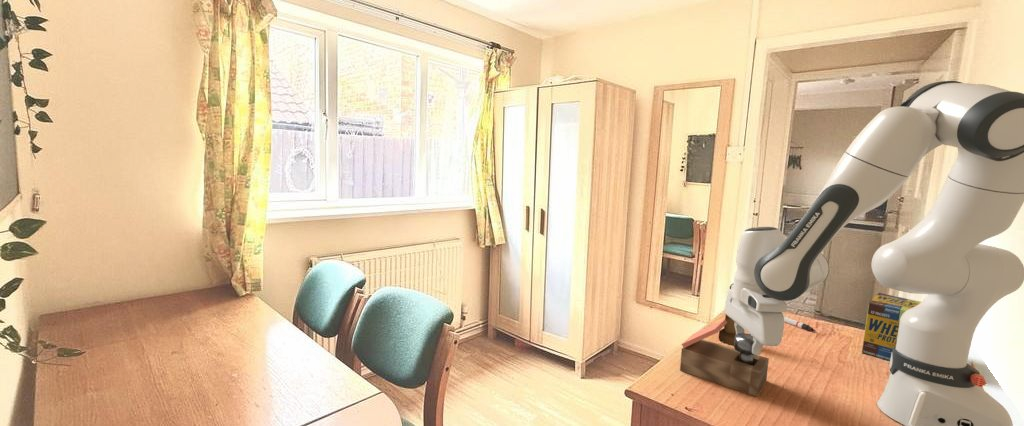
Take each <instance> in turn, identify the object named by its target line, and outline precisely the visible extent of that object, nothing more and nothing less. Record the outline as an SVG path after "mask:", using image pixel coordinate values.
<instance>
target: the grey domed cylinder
mask: <svg viewBox="0 0 1024 426" xmlns="http://www.w3.org/2000/svg"><path fill="white" fill-rule="evenodd" d="M753 343H754V341H753V336H752V335H750V334H749V333H748V332H746V333H738V334H736V335H735V341H734V345H733V348H734V349H735V350H737V351H738V352H740V354H739V362H742V363H746V364H749V365H752V366H753V355H754V354H753V353H751V352H750V345H753Z"/></svg>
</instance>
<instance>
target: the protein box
mask: <svg viewBox="0 0 1024 426" xmlns="http://www.w3.org/2000/svg"><path fill="white" fill-rule="evenodd" d="M921 302H922V301H919V300H915V299H910V298H905V297H900V296H897V295H896V296H895V295H890V294H886V293H881V292H878V293H877V294H876V295H875V296H874V297H873V298H872V299H871V301H869V302H868V307H867V313H866V319H865V321H866V322H865V325H864V332H863V333H864V334H863V339H862V340H863V342H862V350H861V353H862V354H863V355H867V356H871V357H873V358H874V357H875V358H878V359H882V360H886V361H888V362H890V359H891V353H892V351H893V347H894V346H896V343H897V336H898V329H899V323H900V318H901V316H902V314H903V313H904V312H905V311H907V310H908V309H911V308H913V307H915V306H917V305H918V304H920V303H921Z"/></svg>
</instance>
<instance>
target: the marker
mask: <svg viewBox="0 0 1024 426" xmlns="http://www.w3.org/2000/svg"><path fill="white" fill-rule="evenodd" d="M783 316H784V315H783ZM784 324H789V325H791V326H793V327H796V328H797V329H798V328H799V329H802V330H804V331H809V332H816V329H814V327H811V326H810V325H809V324H806V323H804V322H801V321H799V320H795V319H792V318H790V317H787V316H784Z"/></svg>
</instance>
